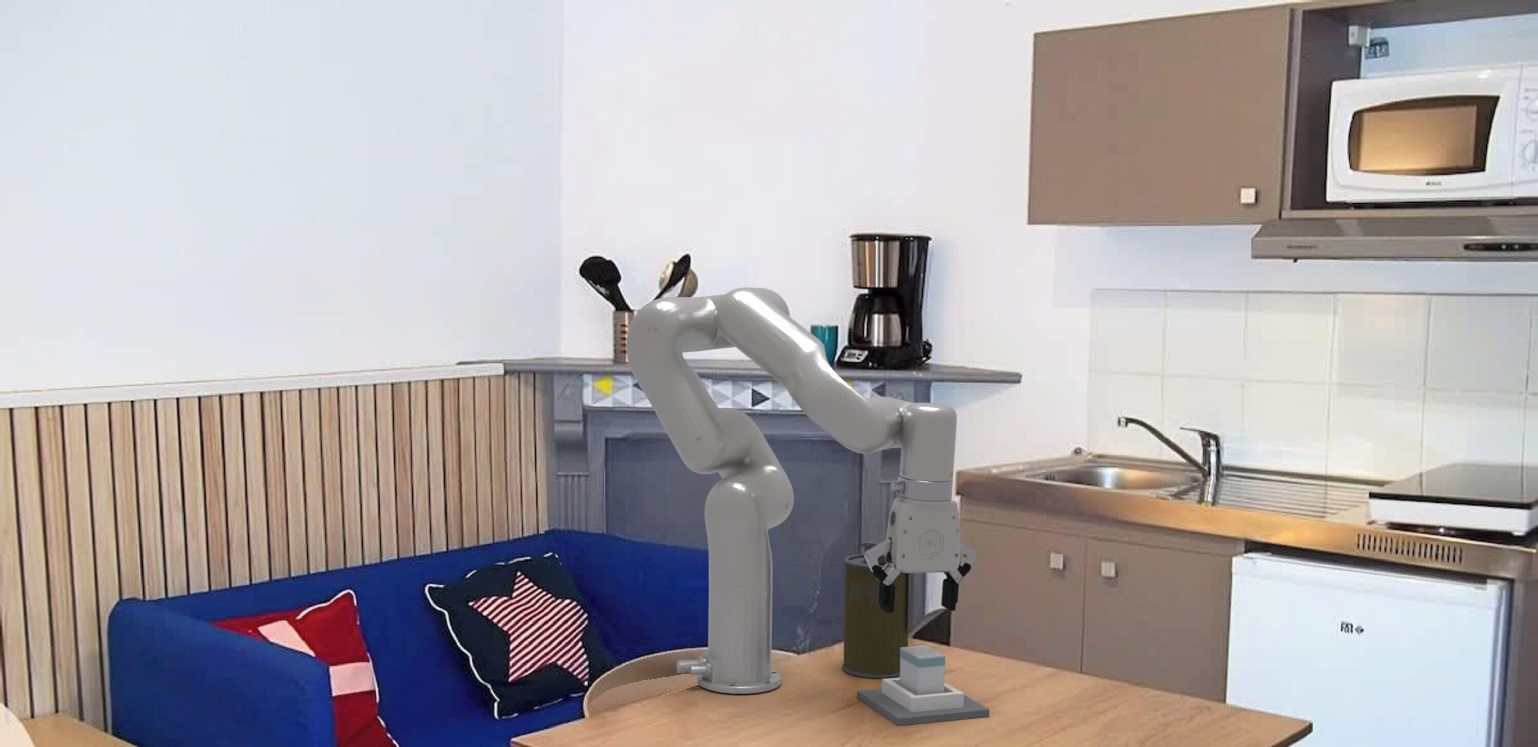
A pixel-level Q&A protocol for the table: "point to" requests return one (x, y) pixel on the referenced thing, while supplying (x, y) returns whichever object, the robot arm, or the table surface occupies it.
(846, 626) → the canister
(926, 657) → the plug
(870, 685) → the table surface
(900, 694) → the grey square socket base
